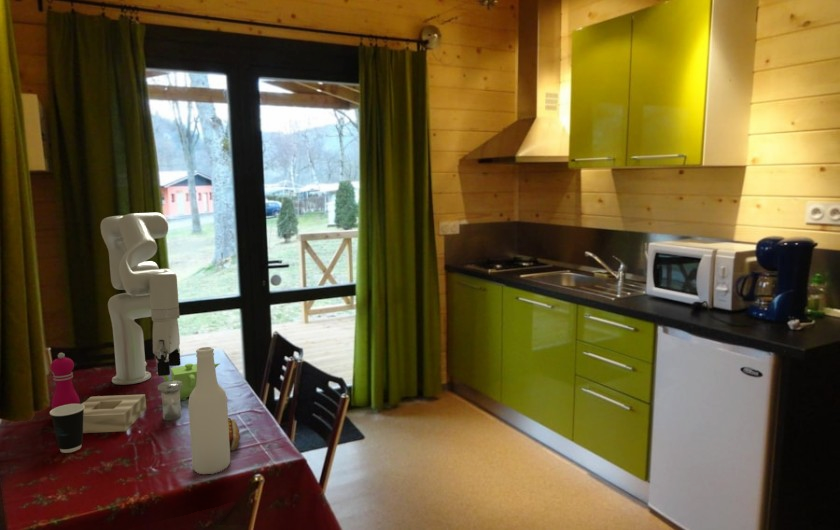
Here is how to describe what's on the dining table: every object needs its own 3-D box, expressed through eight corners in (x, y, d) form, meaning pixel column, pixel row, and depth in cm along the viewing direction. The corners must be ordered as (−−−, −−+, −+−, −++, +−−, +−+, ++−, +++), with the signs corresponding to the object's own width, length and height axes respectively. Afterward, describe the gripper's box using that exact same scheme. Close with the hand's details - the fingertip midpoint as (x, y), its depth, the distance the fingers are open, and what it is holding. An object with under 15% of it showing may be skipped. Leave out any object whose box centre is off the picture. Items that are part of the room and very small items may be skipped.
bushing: (164, 413, 177) (162, 381, 175) (187, 412, 177) (185, 380, 176) (156, 422, 170) (154, 388, 168) (180, 421, 170) (178, 387, 169)
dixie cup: (50, 457, 148) (46, 416, 146) (56, 445, 155) (52, 406, 153) (86, 452, 151) (82, 411, 149) (89, 440, 158) (86, 401, 156)
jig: (92, 412, 178) (91, 396, 177) (146, 409, 179) (145, 394, 179) (66, 433, 162) (64, 416, 161) (125, 431, 164) (124, 414, 163)
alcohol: (225, 475, 138) (218, 353, 134) (187, 476, 137) (179, 354, 133) (234, 458, 147) (228, 343, 143) (198, 459, 146) (191, 344, 142)
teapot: (157, 400, 187) (155, 369, 186) (182, 387, 200) (180, 357, 199) (200, 403, 184) (198, 371, 183) (222, 389, 197) (220, 359, 196)
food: (218, 434, 161) (217, 417, 161) (238, 431, 163) (237, 414, 163) (219, 455, 148) (217, 437, 148) (241, 452, 150) (240, 433, 150)
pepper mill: (67, 422, 170) (61, 356, 167) (46, 420, 171) (40, 355, 169) (86, 413, 177) (80, 350, 174) (66, 411, 179) (60, 348, 176)
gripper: (162, 308, 177) (166, 362, 179) (141, 320, 160) (145, 380, 162) (187, 307, 178) (191, 361, 180) (169, 319, 161) (173, 378, 163)
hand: (169, 370), depth 171 cm, fingers open, 9 cm apart
